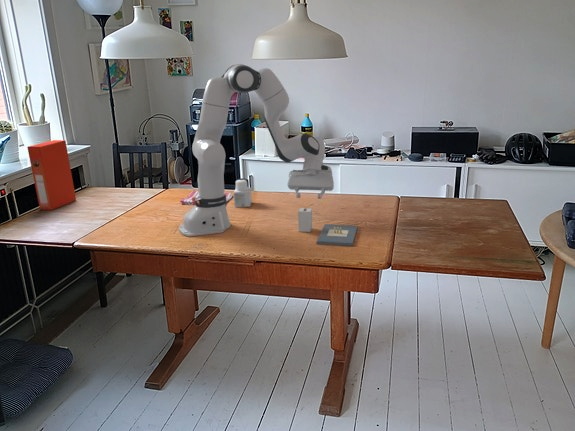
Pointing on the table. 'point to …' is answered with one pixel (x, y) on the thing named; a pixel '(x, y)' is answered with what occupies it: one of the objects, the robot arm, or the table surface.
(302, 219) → the block
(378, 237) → the table surface
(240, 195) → the container
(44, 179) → the file binder
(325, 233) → the header board
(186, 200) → the dish towel
